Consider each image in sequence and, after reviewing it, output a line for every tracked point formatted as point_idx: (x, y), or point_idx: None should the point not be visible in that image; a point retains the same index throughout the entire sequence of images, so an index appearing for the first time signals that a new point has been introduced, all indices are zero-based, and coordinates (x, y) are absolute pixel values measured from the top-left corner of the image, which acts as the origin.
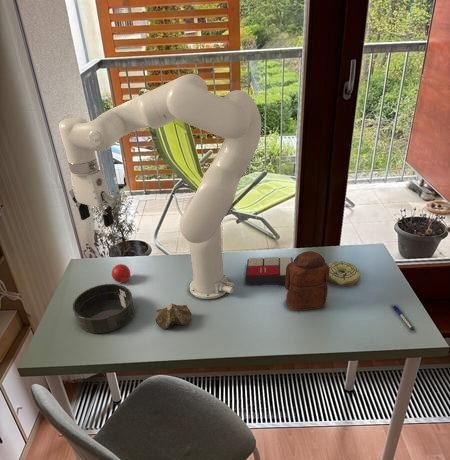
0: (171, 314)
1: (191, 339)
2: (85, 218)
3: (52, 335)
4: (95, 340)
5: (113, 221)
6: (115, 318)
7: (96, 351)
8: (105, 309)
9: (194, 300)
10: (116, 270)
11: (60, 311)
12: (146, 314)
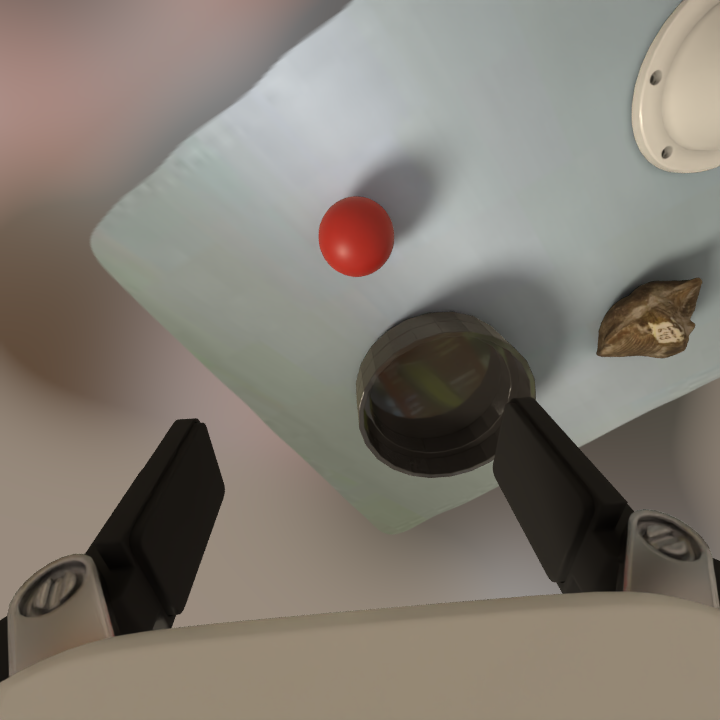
0: (677, 351)
1: (695, 339)
2: (217, 474)
3: (367, 479)
4: None
5: (536, 407)
6: None
7: (491, 463)
8: (419, 375)
9: (666, 190)
10: (363, 267)
11: (308, 429)
12: (537, 327)
